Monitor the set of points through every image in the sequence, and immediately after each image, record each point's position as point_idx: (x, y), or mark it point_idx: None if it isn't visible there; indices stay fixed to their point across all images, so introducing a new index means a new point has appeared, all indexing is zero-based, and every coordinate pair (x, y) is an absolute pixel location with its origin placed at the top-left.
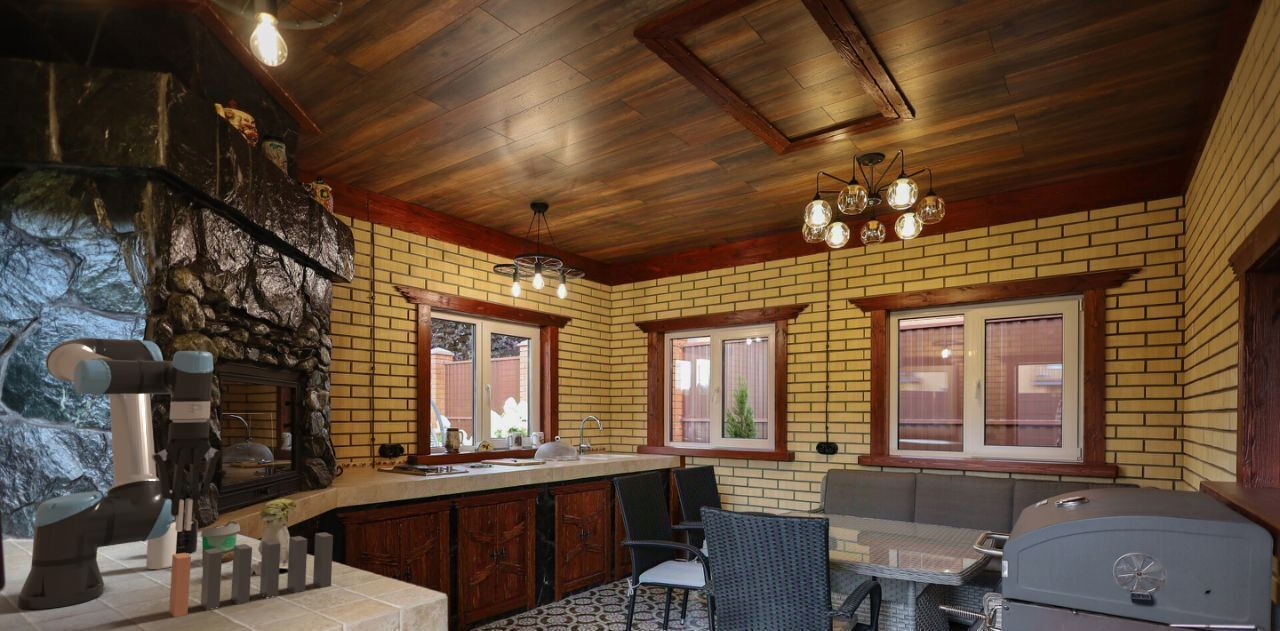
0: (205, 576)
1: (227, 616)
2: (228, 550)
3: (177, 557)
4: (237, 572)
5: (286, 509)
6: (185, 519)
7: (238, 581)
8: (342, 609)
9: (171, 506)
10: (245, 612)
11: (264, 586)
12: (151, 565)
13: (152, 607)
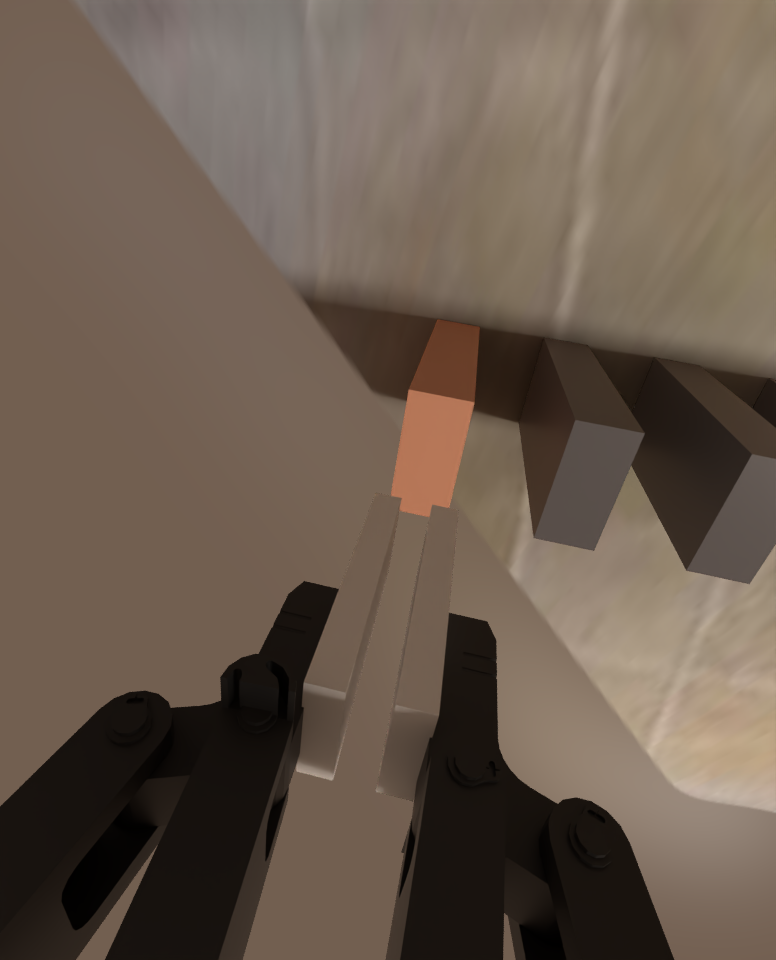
0: (540, 429)
1: (521, 530)
2: None
3: (397, 482)
4: (661, 477)
5: None
6: (418, 575)
7: (641, 480)
8: (727, 714)
9: (265, 648)
10: None
11: None
12: None
13: (419, 195)
